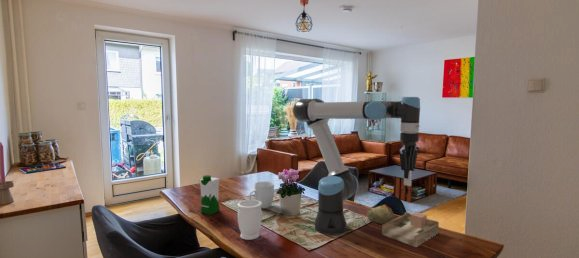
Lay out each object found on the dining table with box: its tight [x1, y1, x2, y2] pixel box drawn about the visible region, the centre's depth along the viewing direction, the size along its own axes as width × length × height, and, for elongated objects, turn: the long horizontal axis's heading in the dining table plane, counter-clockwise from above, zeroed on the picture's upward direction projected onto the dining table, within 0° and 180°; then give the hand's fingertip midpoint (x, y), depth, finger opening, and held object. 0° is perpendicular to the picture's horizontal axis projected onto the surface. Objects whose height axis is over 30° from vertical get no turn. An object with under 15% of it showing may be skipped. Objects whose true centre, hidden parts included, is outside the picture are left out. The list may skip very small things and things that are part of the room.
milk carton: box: [198, 175, 221, 216], centre depth 164 cm, size 9×9×20 cm
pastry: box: [366, 204, 396, 225], centre depth 153 cm, size 14×12×8 cm
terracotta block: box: [410, 211, 428, 228], centre depth 141 cm, size 5×5×5 cm
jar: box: [236, 199, 263, 241], centre depth 135 cm, size 11×10×15 cm
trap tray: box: [381, 211, 440, 248], centre depth 137 cm, size 16×20×6 cm
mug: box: [248, 181, 275, 209], centre depth 172 cm, size 15×11×13 cm
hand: (407, 185), depth 136 cm, fingers closed
